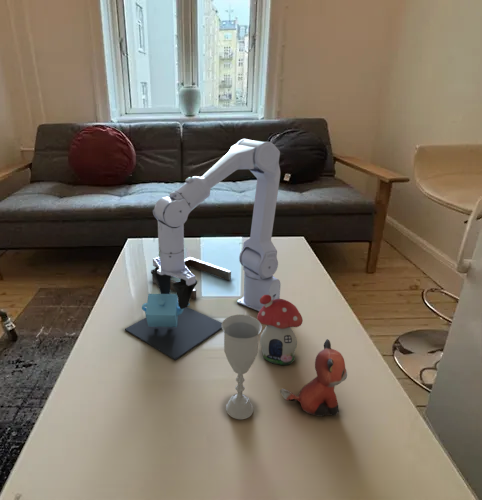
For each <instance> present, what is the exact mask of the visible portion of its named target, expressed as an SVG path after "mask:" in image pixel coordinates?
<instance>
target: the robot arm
mask: <svg viewBox="0 0 482 500" xmlns="http://www.w3.org/2000/svg"><path fill="white" fill-rule="evenodd" d="M280 157H281V151H280V149H278V147H277V146H276V145H275V144H274V143H273V142H271V141H261V140H254V139H253V140H252V139H250V138H249V139H248V138H242V139H240V140H238V141H237V142H236V143H235V144H233V145H231V146H230V149H229V150H228V152H227V153H226V154H225V155H223V156H222V157H221V158H220V159H219V160H218V161H217V162H216V163H215V164H213V165H212V167H210V168H209V169H208V170H207V171H206V172H204V174H203V175H201V176H197V175H194V176H192V177H191V176H188V177H187V178H186V179H185V180H184V181H185V182H184V183H183V184H182V185H181V186H179V187H178V188H177V189H175V191H173V190H172V191H171V192H169V196H162V197H161V198H159V199H158V200H157V201H156V202H155V205H154V208H153V209H152V214H153V216H154V217H153V218H155V219H156V220H157V234H158V233H159V245H158V250H159V249H160V257H159V256H158V257H154V258H152V266H153V267H154V268H153V269H151V270H150V274H151V276H152V275H153V277H154V278H155V280H156V282H157V284H156V285H157V287H158V290H159V294H171V290H170V281H171V280H172V277H173V278H177V279H178V281H176V283H173V286H174V288H175V290H176V292H175V294H177V297H178V303H179V307H180V308H181V309H183V308H186V307H188V308H189V306H190V305H189V303H190V300H191V299H190V297H191V294H192V291H193V289H195V287H196V286H197V284H198V280H197V279H196V275H195V274H193V273H192V272H191V270H190V269H189V268H187V267H186V265H185V259H186V257H185V255H186V254H185V234H184V233H185V230H183V224H184V225H185V223H186V222H187V220H188V217H189V215H190V213H191V212H192V211H193V210H194V209H195V208H197V207H198V206H199V205H201V203H203V202H204V201H205V200H206V199H208V198H209V197H210V196H211V195H210V194H211V189H212V188H214V187H215V186H217V184H219V183H221V182H222V181H223V180H225V179H226V178H227V177H229V176H230V175H232V174H233V173H235V172H236V171H238V170H248V171H250V173H251V174H252V175H253V176H254V177H255V178H256V186H255V193H254V194H255V195H254V203H253V211H252V219H251V227H250V235H249V238H248V239H246V240H245V241H244V242H243V246H242V248H241V251H240V253H239V257H238V260H239V261H238V262H239V263H240V265H241V266H243V267H242V270H243V271H244V272H243V273H244V274H243V296H242V297H241V298H240V299H238V300H237V301H236V302H237V304H240V305H242V306H244V307H247V308H250V309H252V310H255V311H257V312H259V311H260V310H261V308H262V307H263V306H264V304H261V303H260V298H261V297H262V296H263V295H270V296H271V300H275V299H281V298H280V297H281V280H280V279H279V278H277V277H275V276H274V274H276V272H277V270H278V268H279V261H278V250H277V248H276V246H275V244H274V243H273V242H272V237H273V228H274V222H275V216H276V209H277V201H278V193H279V188H280V187H279V186H280V180H281V167H280ZM158 230H159V231H158ZM188 305H189V306H188Z"/></svg>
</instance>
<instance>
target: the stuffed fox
mask: <svg viewBox="0 0 482 500" xmlns="http://www.w3.org/2000/svg"><path fill="white" fill-rule="evenodd" d="M331 345H332V344H331V341H330V339H328V338H327V339H325V341H324V343H323V349H322V350H320V351H319V352H317V354H316V357H315V360H314V369H315V372H316V376H315V377H314V378H313V379H312V380H310V381H309V382H308V383H307V384H305V385H304V386H303V387H302V388H301V389H300V391H299V393H298V395H296V394H295V393H293V392H291V391H290V390H287V389H285V388H281V389H279V392H280V394H281V396H282V398H283V399H284V400H285V401H287V402H288V401H290V402H299V404H300V405H301V409H302V411H303V412H306V413H307V414H309V415H313V416H315V417H324V416H329V415H330V416H336V415H338V414H339V412H340V410H339V402H338V397H337V394H336V392H335V387H337V386H338V385H339V384H341V383H342V382H344V381H346V380H347V377H348V372H347V369H346V362H345V358H344V356H343V354H342V353H341V352H340V351H338V350H337V349H335V348H332V346H331Z"/></svg>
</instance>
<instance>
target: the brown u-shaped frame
mask: <svg viewBox="0 0 482 500" xmlns="http://www.w3.org/2000/svg"><path fill="white" fill-rule="evenodd" d="M185 265H186V267H187V268H188V269H189V268H192V269H195V270H198V271H200V272H204V273H207V274H208V275H209V274H210V275H211V276H214V277H218V278H220V279H222V280H224V281H225V280H226V281H228V282H229V281H231V280H232V271H231V270H229V269H227V268H223V267H221V266H218V265H214V264H212V263H209V262H206V261H203V260H200V259H197V258H195V257H193V256H192V257H191V256H189V257H187V258H185ZM151 277H152V279H151V280H152V283H153V284H156V285H158V284H157V282H156V280H155V278H154V277H153V275H152V274H151ZM176 282H177V281H176V280H174V279H171V281H170V292H174V293H176V290H175V288H174V286H173V283H176ZM190 300H192V301H195V300H197V289H196V288H194V289H193V291H192V294H191V297H190Z"/></svg>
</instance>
